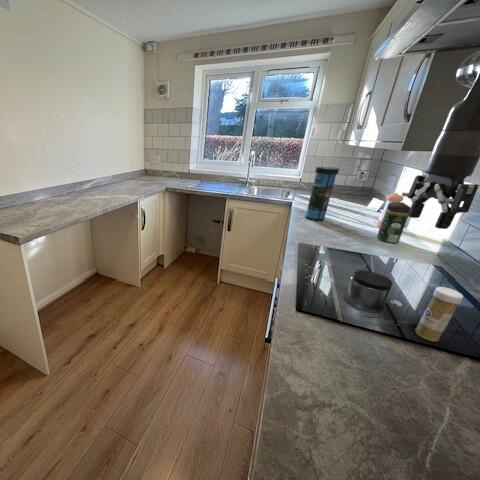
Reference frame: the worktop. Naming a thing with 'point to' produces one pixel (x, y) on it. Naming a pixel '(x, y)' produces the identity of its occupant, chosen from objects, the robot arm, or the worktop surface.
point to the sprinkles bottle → (438, 313)
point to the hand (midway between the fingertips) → (426, 222)
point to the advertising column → (321, 193)
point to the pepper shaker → (389, 199)
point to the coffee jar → (393, 222)
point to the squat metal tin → (368, 291)
